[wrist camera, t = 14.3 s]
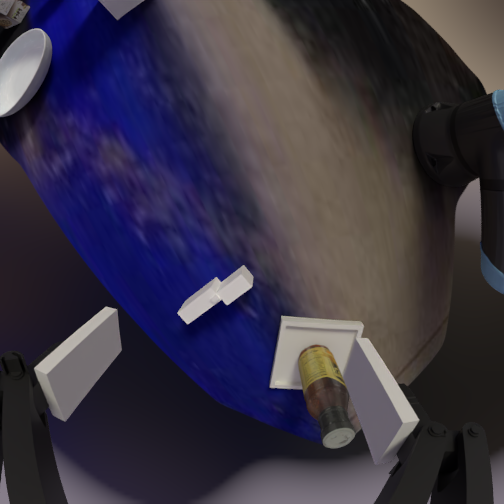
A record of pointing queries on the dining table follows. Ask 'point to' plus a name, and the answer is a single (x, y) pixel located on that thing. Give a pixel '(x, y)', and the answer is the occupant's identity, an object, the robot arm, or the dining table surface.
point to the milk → (119, 6)
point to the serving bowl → (23, 70)
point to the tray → (304, 335)
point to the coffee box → (12, 12)
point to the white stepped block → (216, 294)
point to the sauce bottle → (326, 395)
